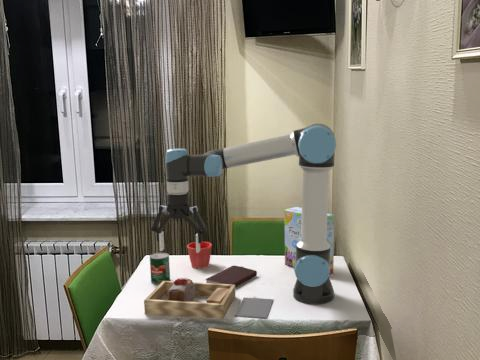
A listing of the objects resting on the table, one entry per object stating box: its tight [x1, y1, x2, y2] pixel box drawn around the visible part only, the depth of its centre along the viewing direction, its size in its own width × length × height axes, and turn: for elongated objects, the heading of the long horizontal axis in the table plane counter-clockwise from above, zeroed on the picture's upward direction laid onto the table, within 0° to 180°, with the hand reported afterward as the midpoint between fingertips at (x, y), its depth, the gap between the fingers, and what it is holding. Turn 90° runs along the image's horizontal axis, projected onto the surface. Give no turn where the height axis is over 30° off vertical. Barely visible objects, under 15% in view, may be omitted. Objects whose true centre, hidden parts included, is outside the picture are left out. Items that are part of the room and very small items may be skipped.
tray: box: [143, 280, 236, 320], centre depth 187 cm, size 28×19×5 cm
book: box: [205, 265, 258, 289], centre depth 211 cm, size 12×19×3 cm, turn 145°
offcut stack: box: [206, 288, 229, 304], centre depth 185 cm, size 6×15×5 cm, turn 168°
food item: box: [167, 277, 195, 302], centre depth 187 cm, size 14×8×10 cm, turn 173°
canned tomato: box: [149, 252, 171, 285], centre depth 212 cm, size 8×8×11 cm
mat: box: [234, 297, 274, 319], centre depth 184 cm, size 11×16×1 cm
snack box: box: [283, 206, 335, 275], centre depth 221 cm, size 22×9×26 cm, turn 42°
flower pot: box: [186, 241, 213, 269], centre depth 230 cm, size 11×11×10 cm
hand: (180, 251), depth 185 cm, fingers open, 13 cm apart
